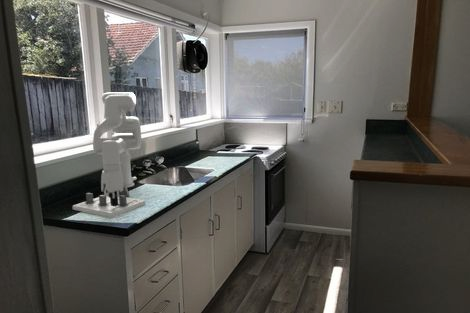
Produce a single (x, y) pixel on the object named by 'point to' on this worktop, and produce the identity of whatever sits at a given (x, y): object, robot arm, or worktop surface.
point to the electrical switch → (124, 191)
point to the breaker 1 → (89, 198)
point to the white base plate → (108, 207)
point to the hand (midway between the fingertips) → (114, 205)
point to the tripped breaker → (122, 200)
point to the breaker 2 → (102, 200)
